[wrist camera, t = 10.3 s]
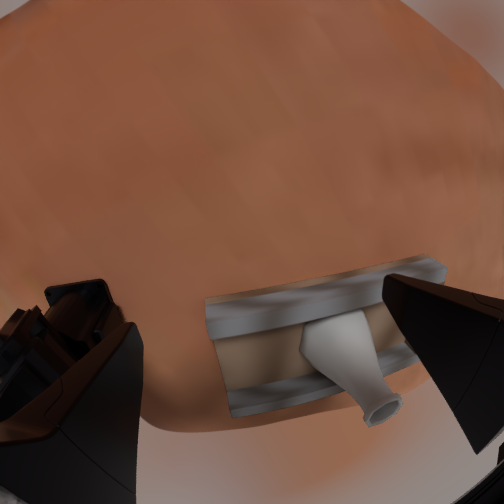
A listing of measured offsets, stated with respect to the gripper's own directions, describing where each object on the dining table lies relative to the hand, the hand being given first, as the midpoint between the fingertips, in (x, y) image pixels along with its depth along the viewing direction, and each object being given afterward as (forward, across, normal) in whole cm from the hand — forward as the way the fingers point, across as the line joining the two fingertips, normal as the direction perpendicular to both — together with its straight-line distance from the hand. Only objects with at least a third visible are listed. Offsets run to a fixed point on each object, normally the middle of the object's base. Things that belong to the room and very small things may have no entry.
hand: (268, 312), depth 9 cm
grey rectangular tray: (+12, -8, +12) cm, 19 cm away
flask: (+11, -8, +12) cm, 18 cm away
